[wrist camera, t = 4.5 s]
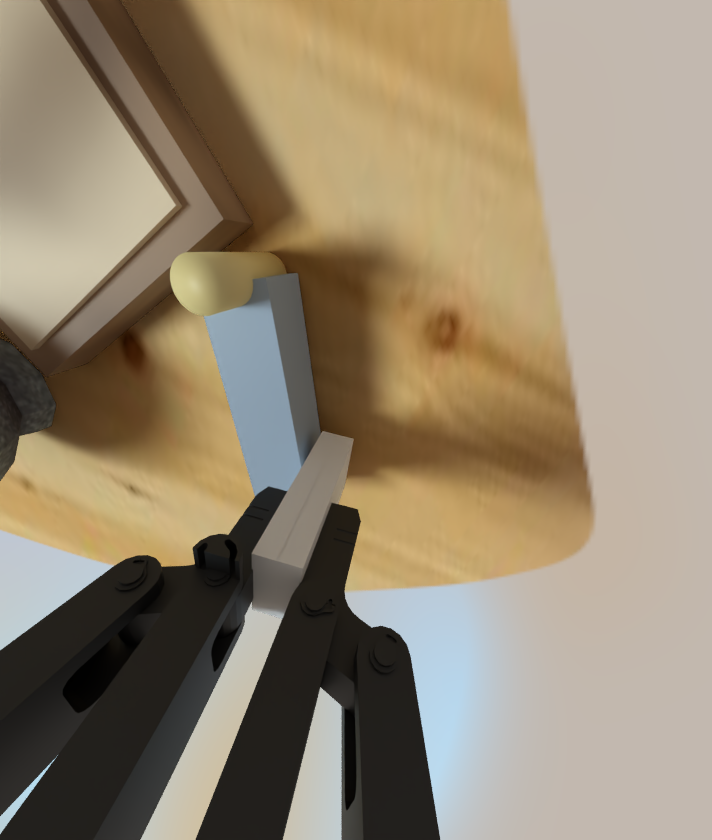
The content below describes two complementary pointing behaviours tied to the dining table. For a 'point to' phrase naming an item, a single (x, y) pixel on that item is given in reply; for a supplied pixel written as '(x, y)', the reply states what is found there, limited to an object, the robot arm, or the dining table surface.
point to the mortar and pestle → (20, 402)
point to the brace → (256, 355)
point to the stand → (94, 180)
